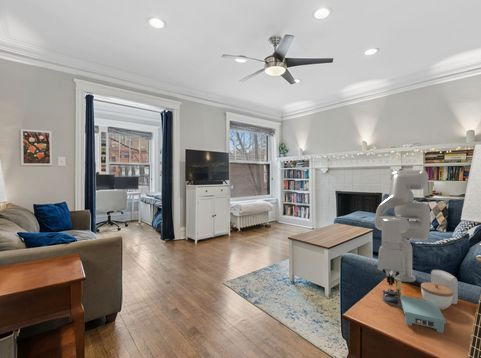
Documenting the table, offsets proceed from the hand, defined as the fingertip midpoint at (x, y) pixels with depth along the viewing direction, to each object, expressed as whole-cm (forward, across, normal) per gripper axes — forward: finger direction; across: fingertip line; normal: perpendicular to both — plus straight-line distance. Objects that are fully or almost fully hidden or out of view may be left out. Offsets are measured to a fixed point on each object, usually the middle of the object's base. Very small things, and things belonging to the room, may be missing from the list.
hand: (390, 284), depth 111 cm
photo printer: (+6, -20, -11) cm, 23 cm away
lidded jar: (+6, -17, -1) cm, 18 cm away
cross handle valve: (+5, -1, +4) cm, 6 cm away
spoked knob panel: (+5, -7, +12) cm, 15 cm away
